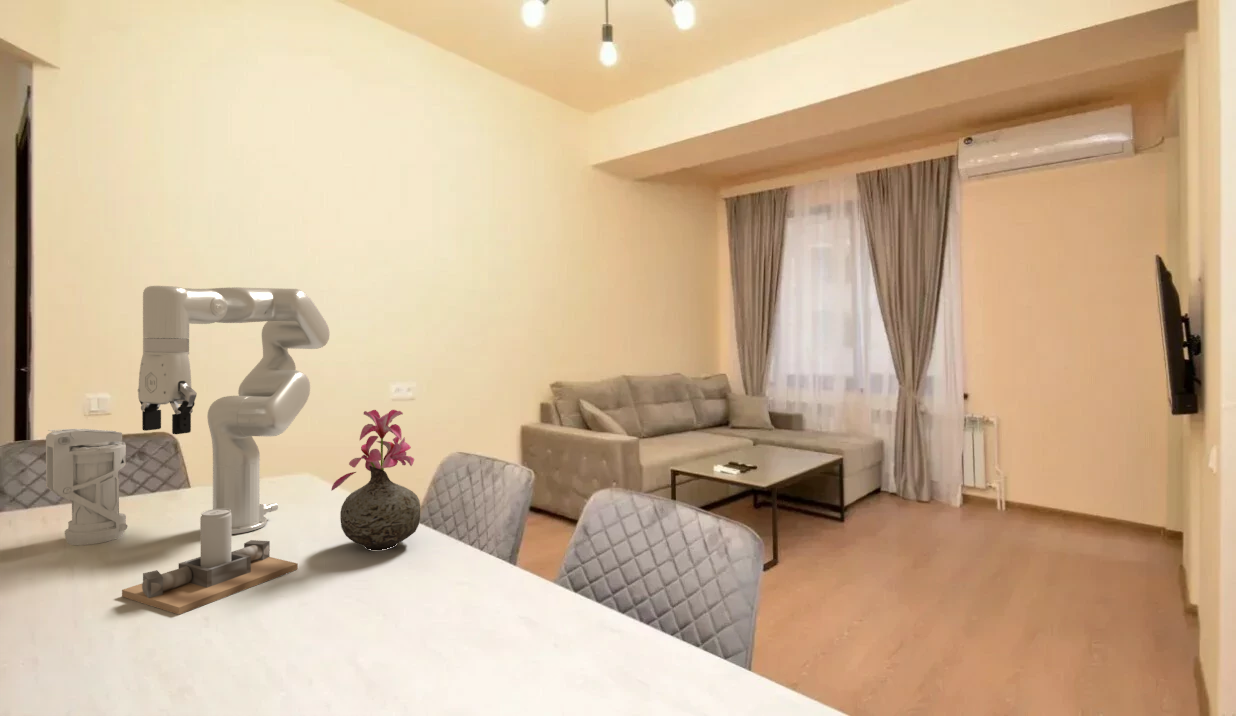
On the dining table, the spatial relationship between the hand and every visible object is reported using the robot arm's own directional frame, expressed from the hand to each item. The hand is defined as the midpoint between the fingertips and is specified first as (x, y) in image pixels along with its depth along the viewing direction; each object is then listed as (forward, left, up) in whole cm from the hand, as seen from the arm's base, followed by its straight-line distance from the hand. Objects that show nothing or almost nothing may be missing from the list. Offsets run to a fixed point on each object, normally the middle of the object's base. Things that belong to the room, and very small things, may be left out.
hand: (166, 431), depth 122 cm
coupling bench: (+3, +20, -26) cm, 33 cm away
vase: (-25, +32, -26) cm, 48 cm away
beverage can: (+3, +20, -25) cm, 32 cm away
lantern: (0, -28, -26) cm, 39 cm away
